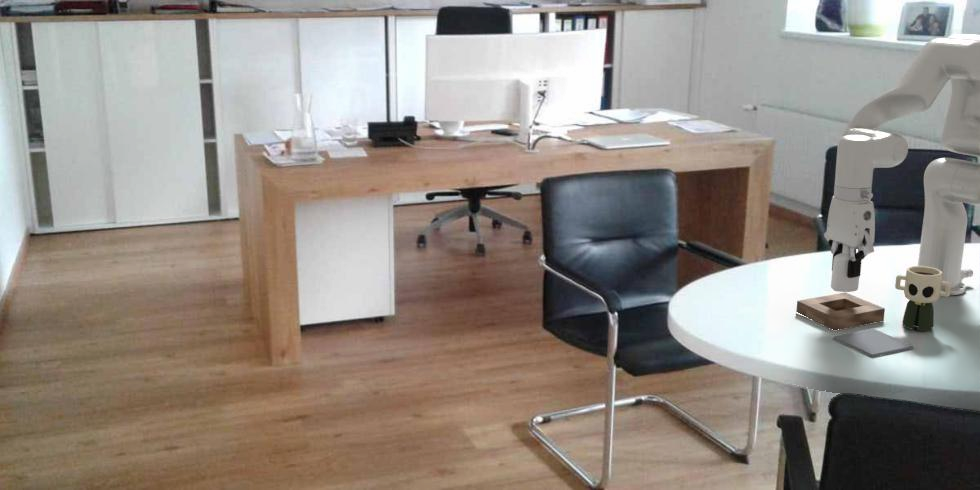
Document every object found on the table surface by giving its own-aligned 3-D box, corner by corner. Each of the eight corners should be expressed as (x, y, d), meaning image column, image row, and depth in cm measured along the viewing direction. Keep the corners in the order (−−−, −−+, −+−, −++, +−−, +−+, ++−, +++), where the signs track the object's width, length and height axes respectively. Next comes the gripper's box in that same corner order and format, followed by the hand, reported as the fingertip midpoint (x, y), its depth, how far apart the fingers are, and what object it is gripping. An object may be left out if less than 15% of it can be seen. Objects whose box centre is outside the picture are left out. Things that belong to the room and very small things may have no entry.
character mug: (887, 328, 218) (894, 271, 215) (893, 318, 224) (900, 262, 221) (942, 337, 213) (950, 279, 209) (946, 327, 219) (954, 270, 215)
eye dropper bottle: (832, 284, 227) (837, 233, 223) (859, 288, 224) (864, 236, 220) (829, 290, 223) (834, 239, 219) (855, 294, 221) (861, 242, 217)
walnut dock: (844, 304, 233) (845, 292, 232) (883, 321, 222) (884, 308, 222) (796, 313, 227) (797, 300, 227) (834, 330, 217) (835, 317, 216)
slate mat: (872, 331, 217) (873, 328, 217) (912, 348, 207) (913, 345, 207) (833, 338, 212) (833, 336, 212) (872, 357, 203) (872, 354, 203)
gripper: (895, 199, 211) (887, 282, 217) (838, 183, 226) (832, 260, 231) (867, 203, 208) (860, 287, 214) (811, 187, 223) (806, 265, 228)
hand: (845, 272), depth 222 cm, fingers closed on eye dropper bottle, 4 cm apart
